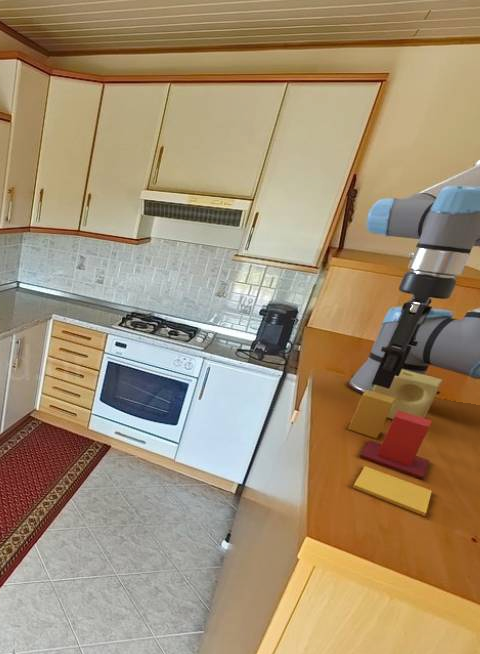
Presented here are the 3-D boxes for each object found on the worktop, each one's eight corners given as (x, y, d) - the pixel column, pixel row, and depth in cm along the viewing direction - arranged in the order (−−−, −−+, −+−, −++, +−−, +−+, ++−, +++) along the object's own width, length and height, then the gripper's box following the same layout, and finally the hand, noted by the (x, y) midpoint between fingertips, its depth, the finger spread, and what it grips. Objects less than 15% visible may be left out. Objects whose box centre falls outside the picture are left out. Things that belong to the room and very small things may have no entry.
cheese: (362, 410, 113) (378, 370, 110) (372, 401, 120) (389, 363, 117) (419, 429, 106) (439, 387, 103) (427, 418, 113) (446, 378, 110)
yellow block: (352, 423, 105) (366, 389, 103) (380, 432, 102) (395, 397, 99) (348, 429, 102) (362, 394, 99) (376, 438, 99) (392, 402, 96)
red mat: (368, 442, 97) (369, 439, 97) (427, 462, 91) (429, 459, 91) (359, 457, 90) (360, 454, 90) (422, 479, 84) (423, 477, 84)
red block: (381, 447, 93) (398, 410, 91) (413, 458, 90) (431, 420, 88) (377, 455, 90) (394, 416, 87) (410, 466, 87) (429, 426, 84)
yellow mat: (363, 468, 86) (365, 465, 86) (430, 493, 80) (432, 490, 80) (352, 487, 79) (354, 484, 79) (424, 516, 73) (426, 513, 73)
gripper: (413, 269, 102) (373, 364, 109) (397, 272, 85) (351, 384, 92) (461, 276, 97) (416, 375, 104) (455, 281, 80) (401, 398, 87)
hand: (385, 379), depth 98 cm, fingers open, 13 cm apart
